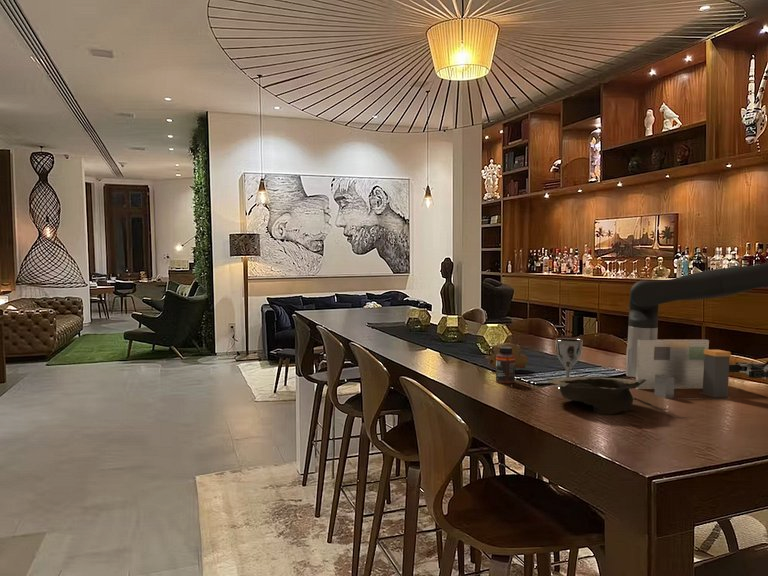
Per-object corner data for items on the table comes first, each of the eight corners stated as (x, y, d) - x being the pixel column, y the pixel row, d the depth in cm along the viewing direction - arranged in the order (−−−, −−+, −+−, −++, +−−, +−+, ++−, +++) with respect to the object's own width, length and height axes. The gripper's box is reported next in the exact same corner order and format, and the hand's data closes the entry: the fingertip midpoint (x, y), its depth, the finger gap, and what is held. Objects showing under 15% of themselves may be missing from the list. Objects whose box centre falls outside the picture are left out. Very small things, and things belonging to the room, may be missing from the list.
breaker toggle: (716, 393, 172) (718, 349, 171) (728, 397, 167) (730, 352, 166) (701, 393, 171) (703, 349, 170) (713, 397, 166) (715, 352, 165)
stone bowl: (638, 423, 141) (636, 385, 140) (536, 414, 154) (534, 379, 154) (652, 401, 162) (650, 368, 161) (561, 395, 175) (560, 365, 175)
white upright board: (703, 391, 180) (706, 339, 179) (741, 403, 165) (744, 347, 164) (635, 391, 176) (637, 339, 175) (667, 404, 161) (670, 347, 160)
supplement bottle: (516, 381, 187) (517, 346, 187) (512, 385, 182) (513, 349, 181) (497, 379, 190) (499, 345, 189) (493, 383, 184) (494, 347, 184)
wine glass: (580, 386, 182) (582, 338, 182) (580, 391, 175) (582, 342, 174) (554, 384, 185) (556, 337, 184) (553, 389, 178) (554, 340, 177)
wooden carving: (522, 368, 211) (523, 341, 211) (529, 370, 207) (530, 342, 206) (481, 370, 206) (482, 342, 206) (488, 372, 202) (489, 344, 201)
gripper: (768, 354, 179) (721, 354, 176) (809, 362, 165) (758, 362, 162) (767, 378, 179) (720, 378, 177) (807, 388, 165) (757, 389, 163)
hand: (738, 371), depth 169 cm, fingers open, 8 cm apart
